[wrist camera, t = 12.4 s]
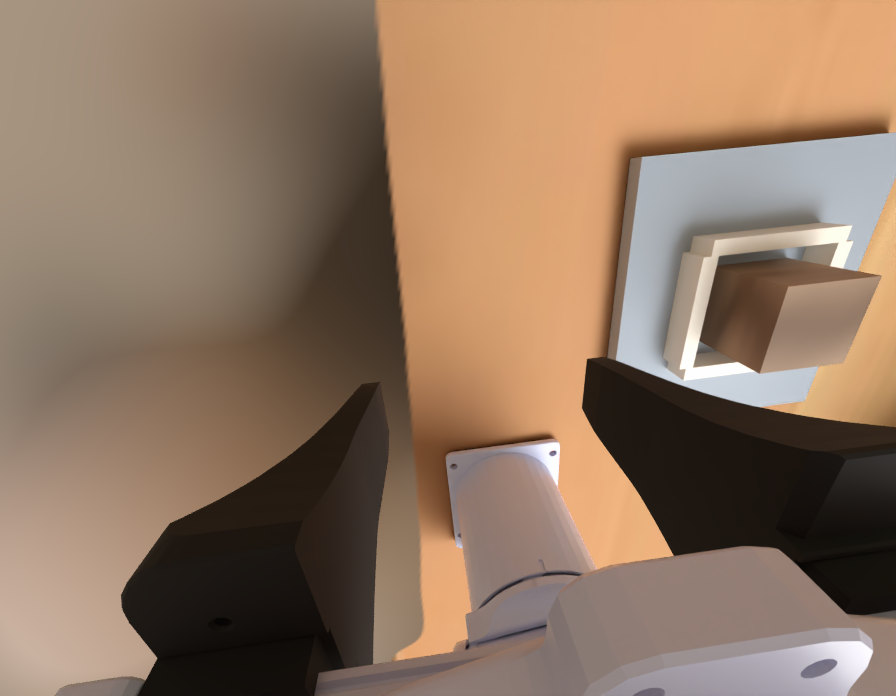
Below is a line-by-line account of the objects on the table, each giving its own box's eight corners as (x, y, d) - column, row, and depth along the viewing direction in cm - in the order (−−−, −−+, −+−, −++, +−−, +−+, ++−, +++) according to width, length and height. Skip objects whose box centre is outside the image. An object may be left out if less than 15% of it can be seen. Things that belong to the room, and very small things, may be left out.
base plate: (790, 393, 25) (827, 413, 23) (600, 418, 24) (619, 441, 22) (890, 133, 18) (956, 126, 16) (630, 158, 18) (662, 154, 15)
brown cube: (763, 330, 22) (843, 363, 18) (694, 338, 21) (759, 373, 17) (786, 257, 20) (881, 275, 16) (711, 266, 19) (788, 286, 15)
